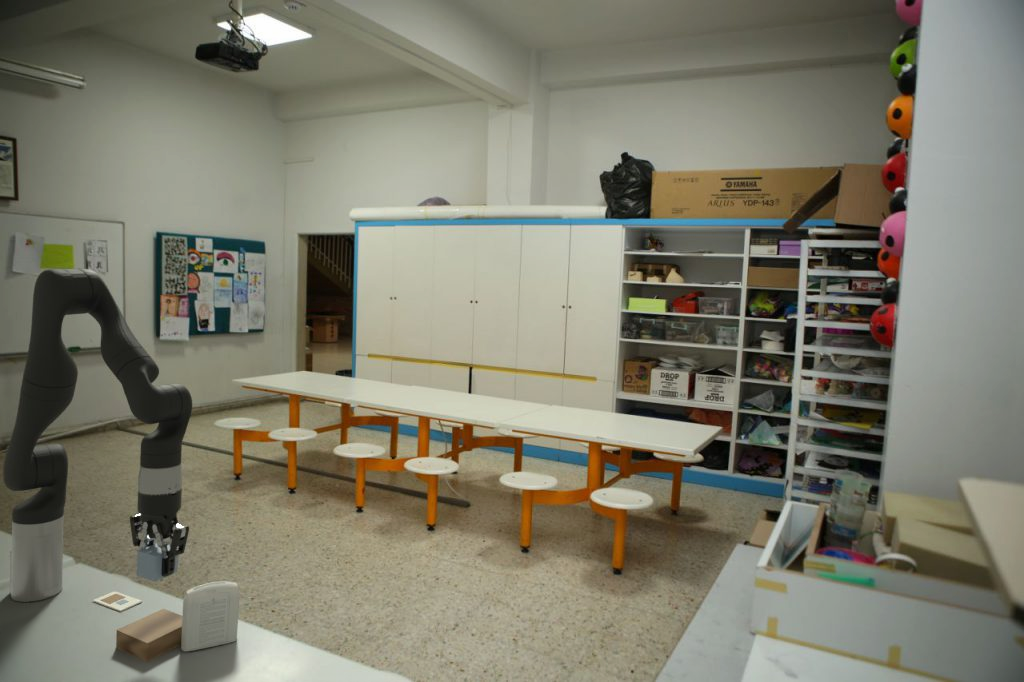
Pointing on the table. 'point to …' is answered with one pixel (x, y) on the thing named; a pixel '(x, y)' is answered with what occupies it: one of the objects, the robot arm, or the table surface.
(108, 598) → the page
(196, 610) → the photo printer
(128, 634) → the base brick
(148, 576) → the top brick
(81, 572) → the table surface
